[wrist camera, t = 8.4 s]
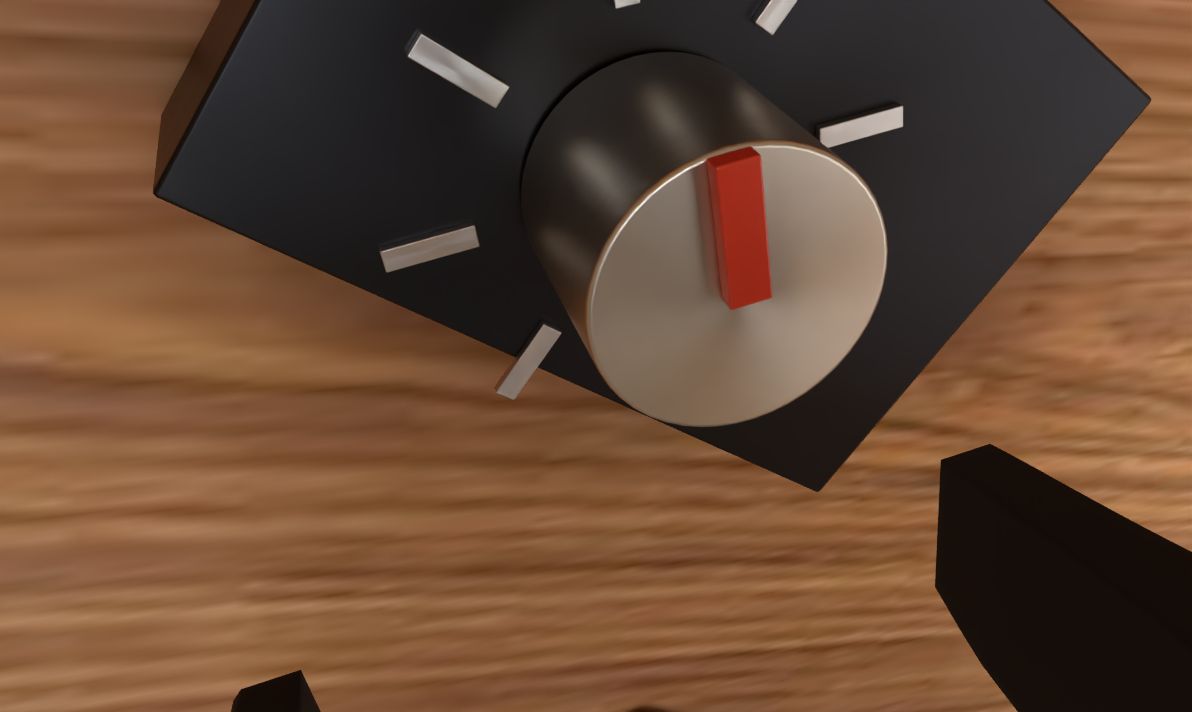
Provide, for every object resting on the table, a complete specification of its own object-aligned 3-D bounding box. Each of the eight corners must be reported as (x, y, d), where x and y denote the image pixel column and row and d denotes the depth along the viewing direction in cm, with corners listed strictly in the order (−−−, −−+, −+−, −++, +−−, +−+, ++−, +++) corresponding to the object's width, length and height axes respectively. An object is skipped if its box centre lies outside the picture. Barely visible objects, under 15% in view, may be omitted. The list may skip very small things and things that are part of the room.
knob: (782, 260, 18) (902, 388, 15) (548, 331, 17) (620, 481, 14) (765, 18, 15) (902, 110, 12) (492, 92, 15) (566, 207, 12)
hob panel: (1044, 47, 21) (1161, 103, 18) (739, 427, 23) (803, 522, 21) (467, -473, 14) (525, -499, 11) (142, 149, 17) (129, 238, 14)
